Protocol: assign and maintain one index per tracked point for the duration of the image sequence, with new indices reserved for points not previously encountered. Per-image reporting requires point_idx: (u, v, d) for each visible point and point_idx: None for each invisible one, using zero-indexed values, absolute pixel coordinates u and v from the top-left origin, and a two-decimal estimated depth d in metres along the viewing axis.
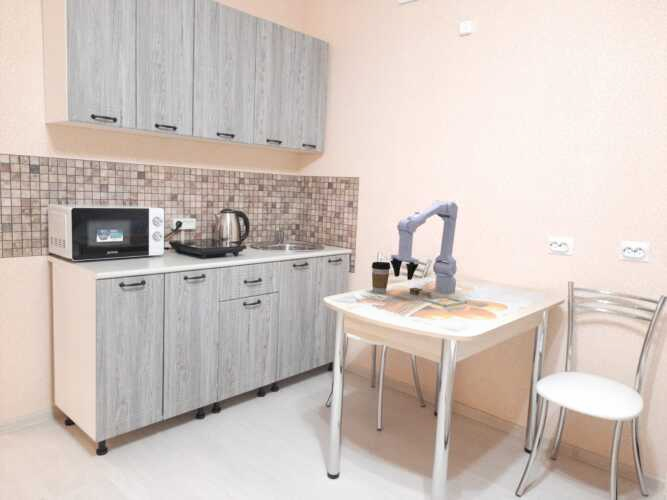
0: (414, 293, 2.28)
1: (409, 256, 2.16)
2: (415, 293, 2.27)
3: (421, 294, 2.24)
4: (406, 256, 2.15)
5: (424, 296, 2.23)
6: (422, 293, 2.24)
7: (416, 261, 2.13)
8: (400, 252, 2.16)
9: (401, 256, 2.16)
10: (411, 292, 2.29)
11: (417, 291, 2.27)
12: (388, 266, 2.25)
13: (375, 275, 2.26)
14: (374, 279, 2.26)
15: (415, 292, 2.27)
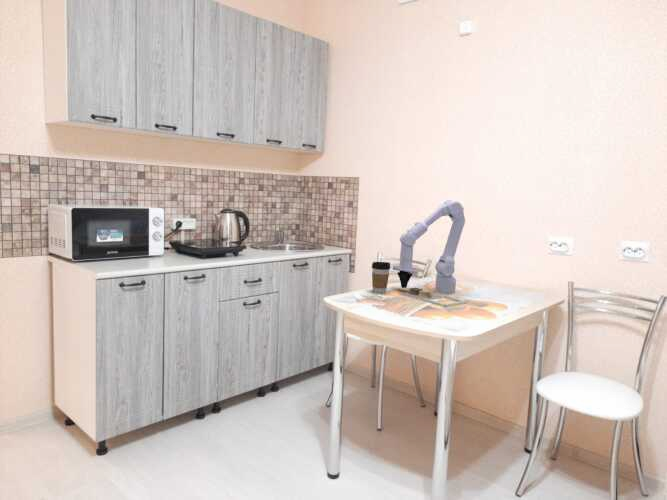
0: (414, 293, 2.28)
1: (409, 267, 2.32)
2: (415, 293, 2.27)
3: (421, 294, 2.24)
4: (407, 267, 2.31)
5: (424, 296, 2.23)
6: (422, 293, 2.24)
7: (416, 272, 2.28)
8: (401, 263, 2.32)
9: (402, 267, 2.32)
10: (411, 292, 2.29)
11: (417, 291, 2.27)
12: (388, 266, 2.25)
13: (375, 275, 2.26)
14: (374, 279, 2.26)
15: (415, 292, 2.27)
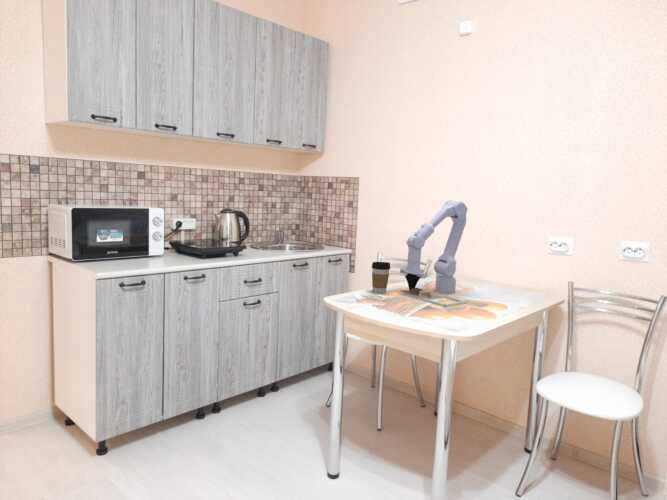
0: (415, 293, 2.27)
1: (417, 270, 2.28)
2: (416, 293, 2.27)
3: (421, 294, 2.24)
4: (414, 270, 2.27)
5: (424, 296, 2.23)
6: (422, 293, 2.24)
7: (424, 275, 2.25)
8: (409, 266, 2.28)
9: (410, 270, 2.28)
10: (412, 292, 2.29)
11: (418, 291, 2.27)
12: (388, 266, 2.25)
13: (375, 275, 2.26)
14: (374, 279, 2.26)
15: (416, 292, 2.27)
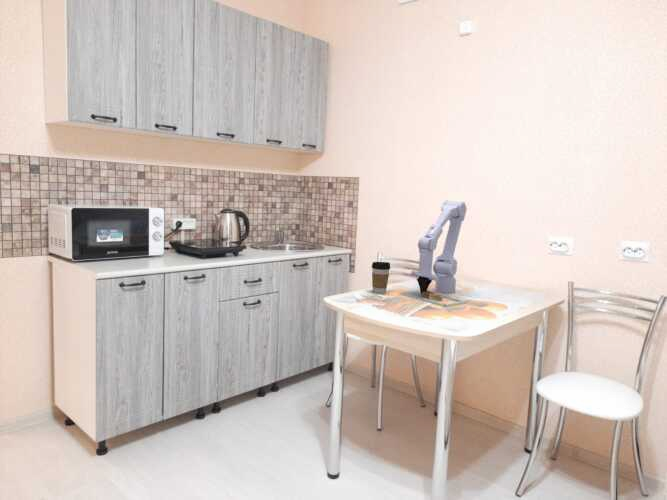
0: (426, 296, 2.22)
1: (429, 273, 2.23)
2: (427, 296, 2.21)
3: (432, 297, 2.20)
4: (426, 273, 2.22)
5: (434, 299, 2.19)
6: (432, 296, 2.19)
7: (436, 278, 2.19)
8: (421, 269, 2.23)
9: (421, 273, 2.23)
10: (423, 295, 2.23)
11: None
12: (388, 266, 2.25)
13: (375, 275, 2.26)
14: (374, 279, 2.26)
15: (428, 296, 2.21)
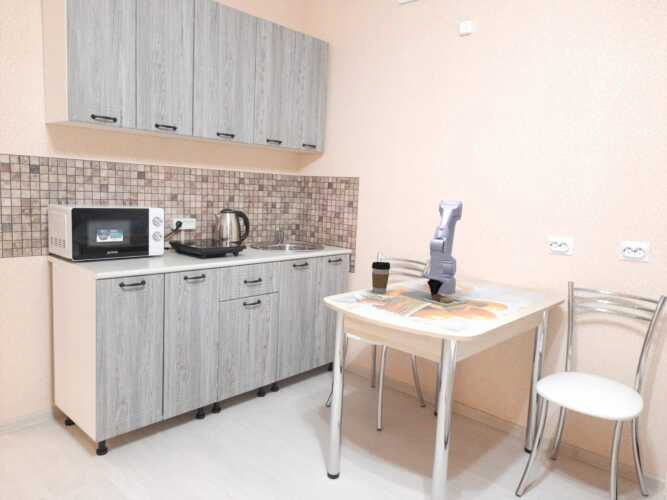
0: None
1: (440, 275, 2.18)
2: (438, 301, 2.17)
3: (443, 302, 2.15)
4: (437, 275, 2.17)
5: None
6: (444, 301, 2.15)
7: (448, 281, 2.14)
8: (432, 271, 2.18)
9: (432, 275, 2.18)
10: (433, 299, 2.19)
11: None
12: (388, 266, 2.25)
13: (375, 275, 2.26)
14: (374, 279, 2.26)
15: (438, 300, 2.17)
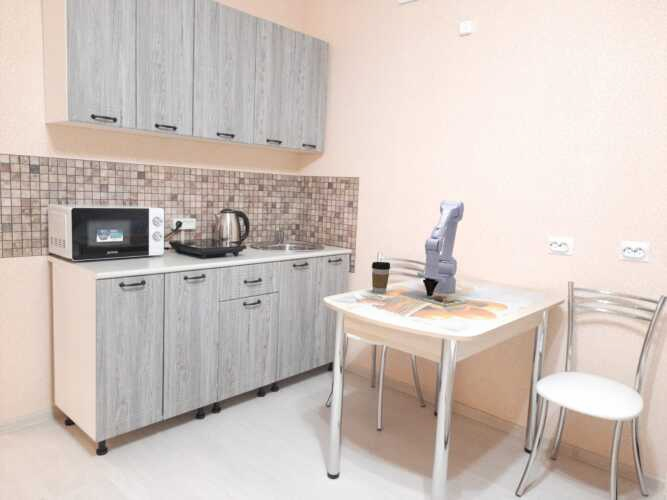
0: None
1: (436, 274, 2.20)
2: (440, 302, 2.16)
3: (445, 303, 2.14)
4: (433, 275, 2.19)
5: None
6: (446, 302, 2.14)
7: (443, 280, 2.16)
8: (427, 270, 2.20)
9: (428, 274, 2.20)
10: None
11: None
12: (388, 266, 2.25)
13: (375, 275, 2.26)
14: (374, 279, 2.26)
15: (440, 301, 2.16)
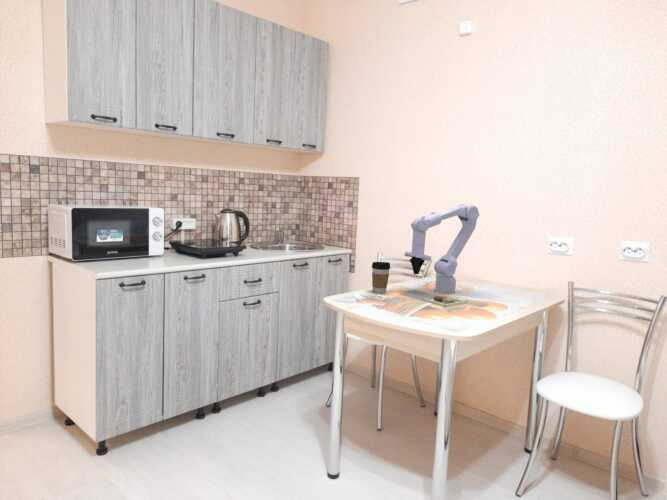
0: None
1: (422, 253, 2.28)
2: (440, 302, 2.16)
3: (445, 303, 2.14)
4: (419, 253, 2.27)
5: None
6: (446, 302, 2.14)
7: (429, 258, 2.25)
8: (413, 249, 2.28)
9: (414, 253, 2.28)
10: None
11: None
12: (388, 266, 2.25)
13: (375, 275, 2.26)
14: (374, 279, 2.26)
15: (440, 301, 2.16)
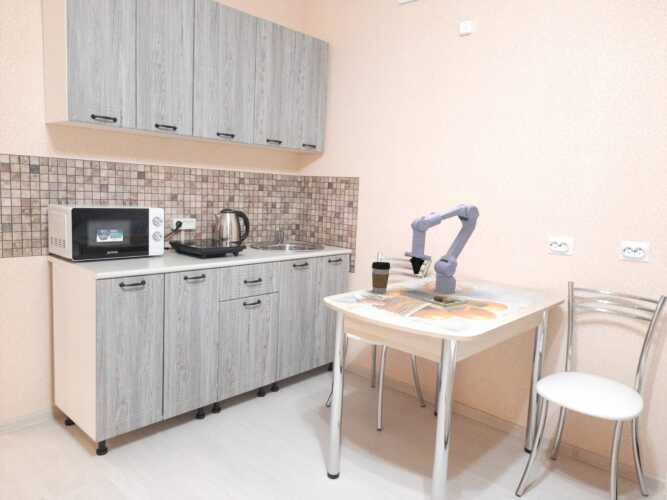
0: None
1: (422, 253, 2.28)
2: (440, 302, 2.16)
3: (445, 303, 2.14)
4: (419, 253, 2.27)
5: None
6: (446, 302, 2.14)
7: (429, 258, 2.25)
8: (413, 249, 2.28)
9: (414, 253, 2.28)
10: None
11: None
12: (388, 266, 2.25)
13: (375, 275, 2.26)
14: (374, 279, 2.26)
15: (440, 301, 2.16)
